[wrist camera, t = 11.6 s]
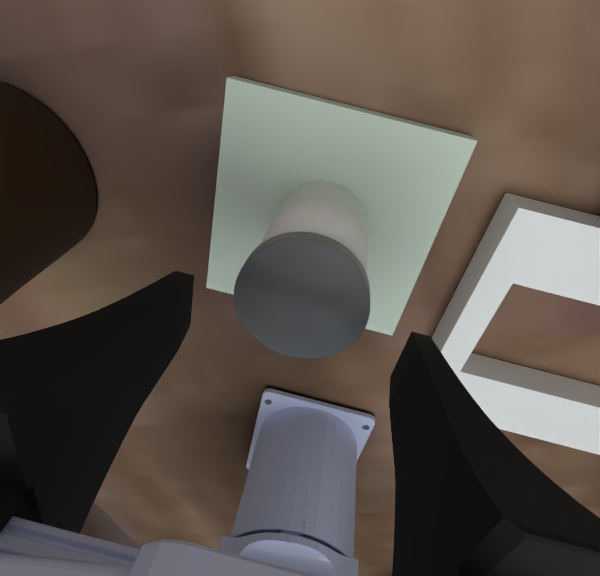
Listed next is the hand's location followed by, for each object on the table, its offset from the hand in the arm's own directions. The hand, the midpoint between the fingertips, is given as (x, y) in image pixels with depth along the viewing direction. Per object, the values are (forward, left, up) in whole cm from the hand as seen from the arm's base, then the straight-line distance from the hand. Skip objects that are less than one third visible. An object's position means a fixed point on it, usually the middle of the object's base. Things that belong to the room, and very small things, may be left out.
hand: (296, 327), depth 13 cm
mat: (0, 0, -9) cm, 9 cm away
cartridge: (0, 0, -8) cm, 8 cm away
